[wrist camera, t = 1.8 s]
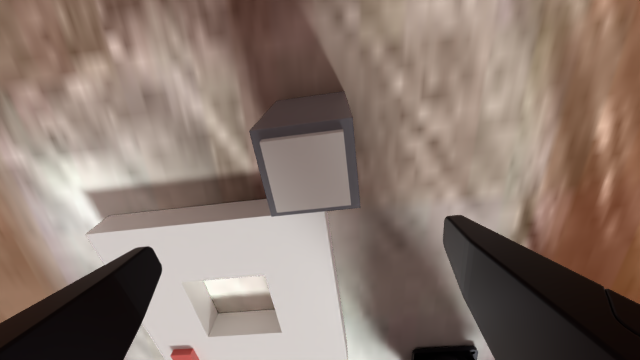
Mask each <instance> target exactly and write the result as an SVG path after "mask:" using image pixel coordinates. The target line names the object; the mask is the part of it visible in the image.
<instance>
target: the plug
mask: <svg viewBox="0 0 640 360" xmlns="http://www.w3.org/2000/svg"><path fill="white" fill-rule="evenodd" d="M249 132H250V136H251V140H252V144H253V148H254V152H255V155H256V159H257V163H258V167H259V171H260V175H261V178H262V182H263V186H264V190H265V194H266V198H267V202H268V205H269V209H270V213H271V217H274V216H284V215H293V214H303V213H313V212H323V211H333V210H343V209H353V208H360V196H359V185H358V174H357V162H356V151H355V139H354V128H353V117H352V114H351V111H350V108H349V104H348V101H347V98H346V95H345V92H344V91H343V92H336V93H329V94H322V95H314V96H307V97H300V98H293V99H286V100H279V101H276V102H275V103H274V104H273V105H272V106H271V108H270V109H269V110H268V111H267V112H266V113H265V114H264V115H263V116H262V117H261V118H260V120H259V121H258V122H257V123H256V124H255V125H254V126H253V127H252V128H251V129H250V131H249Z"/></svg>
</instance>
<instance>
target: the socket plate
mask: <svg viewBox="0 0 640 360" xmlns="http://www.w3.org/2000/svg"><path fill="white" fill-rule="evenodd" d="M85 235H86V237H87V239H88V240H89V242H90V243H91V245H92V246H93V248H94V249H95V251H96V253H97V254H98V256H99V257H100V259H101V260H102V262H103V264H104V265H106V264H107V263H109V262H111V261H113V260H115V259H116V258H118V257H120V256H122V255H124V254H125V253H127V252H129V251H131V250H132V249H134V248H137V247H145V246H149V247H151V248H153V250H154V251H155V253H156V255H157V257H158V259H159V261H160V263H161V265H162V274H161V276H160V279H159V282H158V284H157V287H156V289H155V292H154V294H153V297H152V299H151V302H150V304H149V307H148V310H147V312H146V314H145V317H144V319H143V321H142V325H143V326H144V328H145V329H146V331H147V332H148V334H149V336H150V337H151V339H152V340H153V342H154V343H155V345H156V347H157V348H158V350H159V351H160V353H161V354H162V356H163V357H164V359H165V360H348V350H347V337H346V331H345V324H344V318H343V311H342V304H341V298H340V291H339V284H338V278H337V271H336V265H335V258H334V251H333V245H332V238H331V231H330V225H329V218H328V212H327V211H323V212H313V213H303V214H293V215H284V216H274V217H271V213H270V209H269V205H268V202H267V199H260V200H250V201H241V202H232V203H222V204H213V205H204V206H195V207H185V208H176V209H167V210H157V211H148V212H139V213H129V214H120V215H111V216H108V217H107V218H105V219H104V220H103V221H102V222H100V223H99V224H98V225H96V226H95V227H94V228H93V229H91V230H90V231H89V232H87V233H86V234H85ZM252 276H265V279H266V282H267V285H268V289H269V292H270V295H271V298H272V302H273V305H274V308H275V309H273V310H259V311H245V312H231V313H218V312H217V310H216V308H215V306H214V303H213V301H212V299H211V297H210V294H209V292H208V290H207V288H206V285H205V283H204V281H203V280H215V279H228V278H240V277H252Z"/></svg>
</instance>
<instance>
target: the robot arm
mask: <svg viewBox="0 0 640 360" xmlns="http://www.w3.org/2000/svg"><path fill="white" fill-rule="evenodd" d="M443 244H444V248H445V250H446V253H447V256H448V258H449V261H450V264H451V266H452V269H453V272H454V274H455V277H456V280H457V282H458V285H459V288H460V290H461V293H462V295H463V297H464V299H465V301H466V304H467V306H468V308H469V309H470V311H471V313H472V315H473V317H474V319H475V321H476V323H477V325H478V327H479V329H480V331H481V333H482V335H483V337H484V339H485V341H486V343H487V345H488V347H489V349H490V351H491V353H492V355H493V357H494V358H495V360H640V304H638V303H636V302H634V301H632V300H630V299H628V298H626V297H624V296H622V295H620V294H618V293H616V292H614V291H612V290H610V289H605V288H604V287H603V286H602V285H600V284H598V283H596V282H594V281H592V280H590V279H588V278H586V277H584V276H582V275H580V274H578V273H576V272H574V271H572V270H570V269H568V268H566V267H564V266H562V265H560V264H558V263H556V262H554V261H552V260H550V259H548V258H546V257H544V256H542V255H540V254H538V253H536V252H534V251H532V250H530V249H528V248H526V247H524V246H522V245H520V244H518V243H516V242H514V241H512V240H510V239H508V238H506V237H504V236H502V235H500V234H498V233H496V232H494V231H492V230H490V229H488V228H486V227H484V226H482V225H480V224H478V223H476V222H474V221H472V220H470V219H468V218H466V217H464V216H462V215H454V216H447V217H446V218H445V220H444V233H443ZM161 274H162V265H161V263H160V261H159V259H158V257H157V255H156V253H155V251H154V250H153V248H151V247H149V246H145V247H137V248H134V249H132V250H131V251H129V252H127V253H125V254H124V255H122V256H120V257H118V258H116V259H115V260H113V261H111V262H109V263H107V264H106V265H104V266H102V267H100V268H98V269H97V270H95V271H93V272H91V273H90V274H88V275H86V276H84V277H82V278H81V279H79V280H77V281H75V282H73V283H72V284H70V285H68V286H66V287H64V288H63V289H61V290H59V291H57V292H56V293H54V294H52V295H50V296H48V297H47V298H45V299H43V300H41V301H39V302H38V303H36V304H34V305H32V306H30V307H29V308H27V309H25V310H23V311H21V312H20V313H18V314H16V315H14V316H13V317H11V318H9V319H7V320H5V321H4V322H2V323H0V360H124V358H125V356H126V354H127V352H128V350H129V348H130V346H131V344H132V342H133V340H134V338H135V336H136V334H137V332H138V330H139V328H140V326H141V323H142V321H143V319H144V317H145V314H146V312H147V310H148V307H149V304H150V302H151V299H152V297H153V294H154V292H155V289H156V287H157V284H158V282H159V279H160V276H161ZM477 356H478V351H477V349H476V347H474V346H464V347H445V348H427V349H415V350H414V351H413V355H412V360H477Z"/></svg>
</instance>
